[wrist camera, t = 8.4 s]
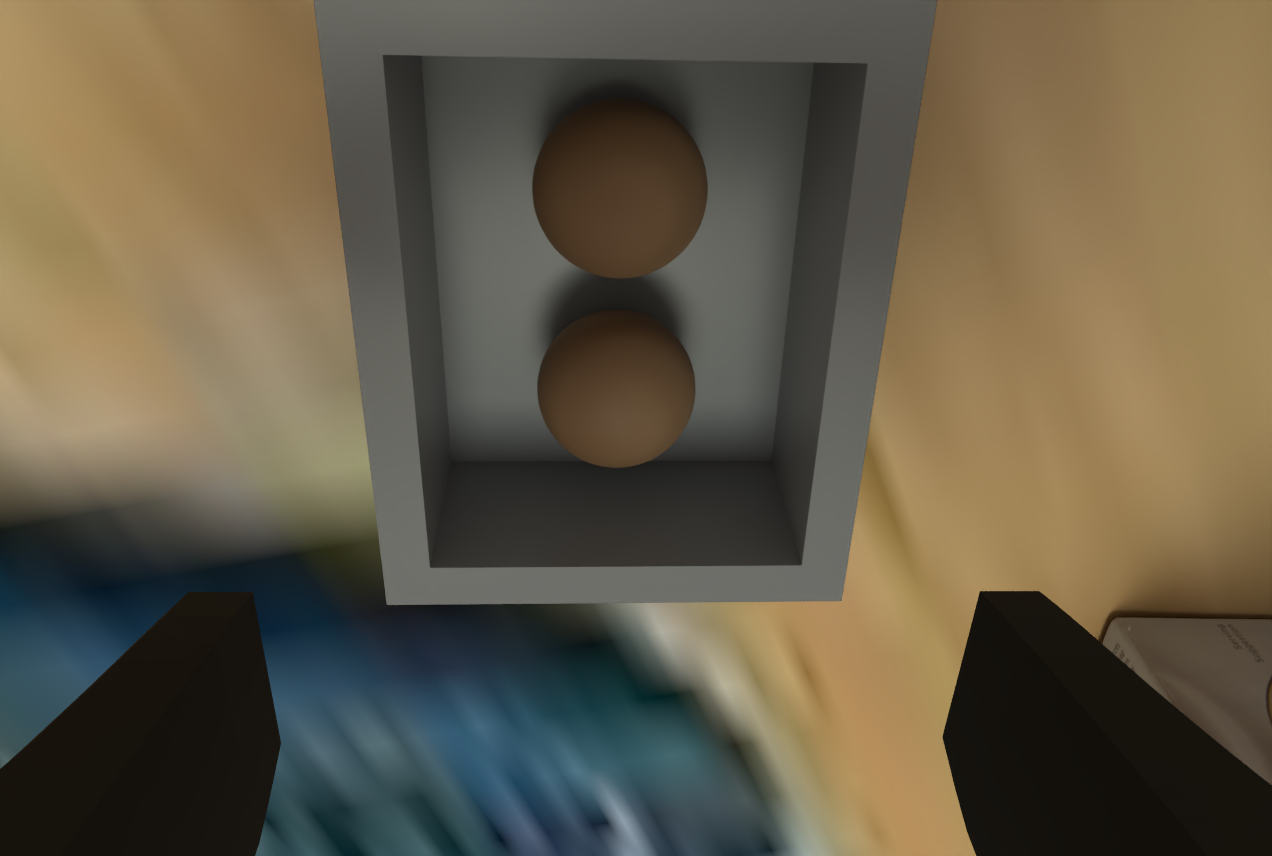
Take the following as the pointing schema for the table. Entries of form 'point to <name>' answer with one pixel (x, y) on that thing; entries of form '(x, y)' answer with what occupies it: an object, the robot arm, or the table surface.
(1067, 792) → the robot arm
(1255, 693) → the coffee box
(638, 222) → the bead
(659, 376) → the bead
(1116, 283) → the table surface
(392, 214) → the tub
